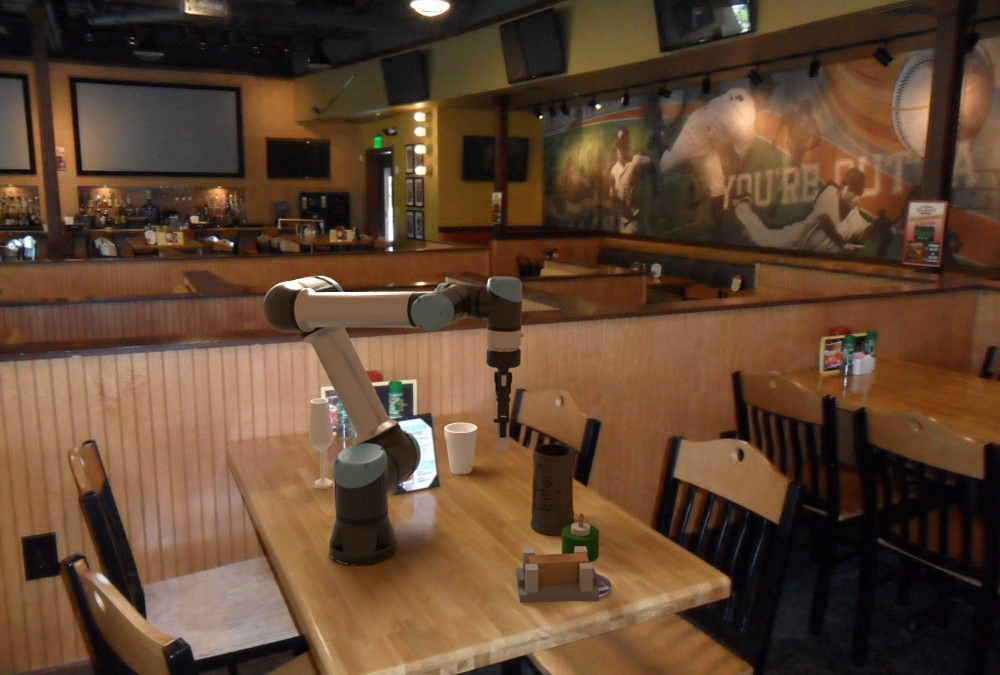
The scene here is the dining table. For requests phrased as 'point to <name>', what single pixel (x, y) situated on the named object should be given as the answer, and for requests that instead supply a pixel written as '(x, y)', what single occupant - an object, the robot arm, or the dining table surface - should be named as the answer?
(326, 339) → the robot arm
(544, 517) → the beer stein
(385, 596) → the dining table surface
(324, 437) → the champagne flute
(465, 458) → the foam cup
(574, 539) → the candle
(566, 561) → the block
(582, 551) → the jig
